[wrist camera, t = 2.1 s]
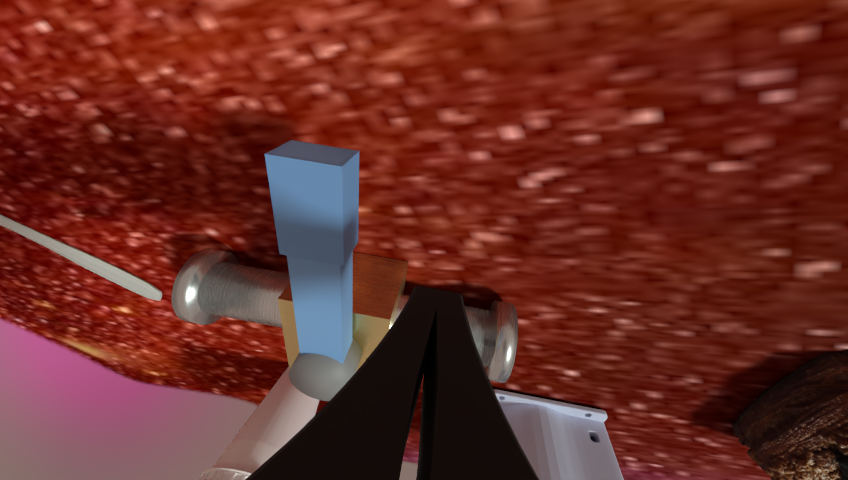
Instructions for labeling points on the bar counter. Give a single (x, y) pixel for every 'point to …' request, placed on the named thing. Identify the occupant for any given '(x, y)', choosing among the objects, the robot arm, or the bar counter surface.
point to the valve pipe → (372, 304)
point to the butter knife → (86, 260)
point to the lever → (318, 257)
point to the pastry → (801, 423)
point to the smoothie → (265, 431)
